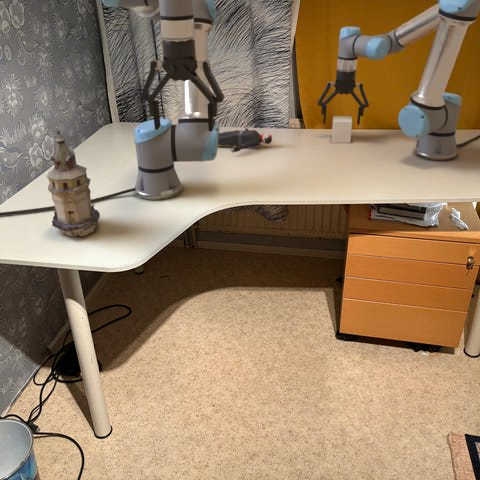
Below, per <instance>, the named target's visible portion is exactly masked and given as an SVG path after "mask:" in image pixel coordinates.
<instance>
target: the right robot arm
mask: <svg viewBox="0 0 480 480" xmlns="http://www.w3.org/2000/svg"><path fill="white" fill-rule="evenodd" d="M437 2H438V3H436V4H434V5H432V6H430V7H429V8H427V9H426V10H424V11H423V12H421V13H420V14H418V15H416V16H414V17H413V18H411V19H409V20H408V21H406V22H405V23H402V24H401V25H400V26H398V27H397V28H395V29H393V30H391V31H389V32H387V33H381V34H376V35H365V34H362V32H361V28H360V27H357V26H343V27H342V28H341V29H340V32H339V38H338V53H337V60H336V69H337V70H336V71H335V72H336V73H335V81H334V82H333V81H330V80H328V81H327V83H326V87H325V89H324V90H323V91H322V93H321V95H320V96H319V98H318V100H317V106H319V107H320V108H321V109H320V110H321V112H320V114H321V115H322V116H323V120H322V123H323V124H326V120H327V108H328V107H327V105H328V104H329V103H330V102H331V101H332V100H333V99H334V98H335V97H336V96H337V95H346V96H347V95H351V96H352V98H353V99H354V100H355V102H356V103H357V104H358V106H359V107H358V110H357V119H356V124H357V126H360V123H361V117H363V116H364V112H365V109H367V108H369V107H370V104H369V101H368V98H367V96H366V93H365V91H364V84H363V82H362V81H360V82H357V83H356V77H357V71H356V70H357V67H358V58H359V57H361V58H364V59H365V58H366V59H369V60H371V61H375V60H376V61H381V60H383V59H384V58H385V57H386V56H388V55H393V54H397V53H400V52H403V50H405V48H406V47H408V46H409V45H411V44H413V43H415V42H417V41H418V40H420V39H422V38H423V37H426V36H427V35H430V34H431V33H433V32H434V31H436V33H435V36H434V39H433V42H432V45H431V48H430V51H429V54H428V57H427V60H426V63H425V67H424V70H423V73H422V75H421V79H420V82H419V84H418V86H417V87H418V88H417V90H416V91H413V92H412V93H411V95H410V97H409V101H408V103H407V105H406V106H404V107H403V108H402V109H401V110H400V111H399V113H398V117H397V120H398V121H397V122H398V125H399V127H400V129H401V131H402V133H403V134H404V135H406V136H407V137H409V138H414V139H417V138H419V139H418V140H417V141H416V143H415V144H416V145H415V146H414V151H413V152H414V154H415V155H416V156H417V157H419V158H422V159H426V160H428V161H429V160H430V161H441V162H442V161H450V160H453V159H456V158H457V156H458V155H457V153H458V148H459V147H464V146H465V145H467V144H468V143H470V142H473V141H474V140H476V139H478V138H480V134H478V135H479V136H477V135H476V136H477V137H475V136H474V137H475V138H473V137H472V138H473V139H471V138H470V139H471V140H470V139H468V140H469V141H468V140H466V141H467V142H466V141H464V142H461V143H459V144H457V141H456V132H457V126H458V121H459V118H460V117H459V116H460V112H461V108H462V97H461V96H460V95H459V94H456V93H451V92H446V88H447V85H448V82H449V79H450V78H451V75H452V71H453V68H454V67H455V63H456V60H457V58H458V56H459V52H460V50H461V47H462V44H463V41H464V39H465V35H466V33H467V30H468V28H469V26H470V25H472V24H474V23H475V22H476V21H477V18H478V15H479V12H480V0H437ZM333 87H334V88H335V89H334V90H333V91H332V92H331V93H330V94H329V96H327V94H328V93H329V91H330V89H331V88H333ZM356 88H357V89H358V90H359V92H360V94H361V97H362V99H363V101H362V100H361V99H360V97H359V96H358V95H357V93H356V92H355V90H354V89H356ZM326 96H327V98H326ZM325 98H326V99H325ZM363 102H364V103H363Z"/></svg>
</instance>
